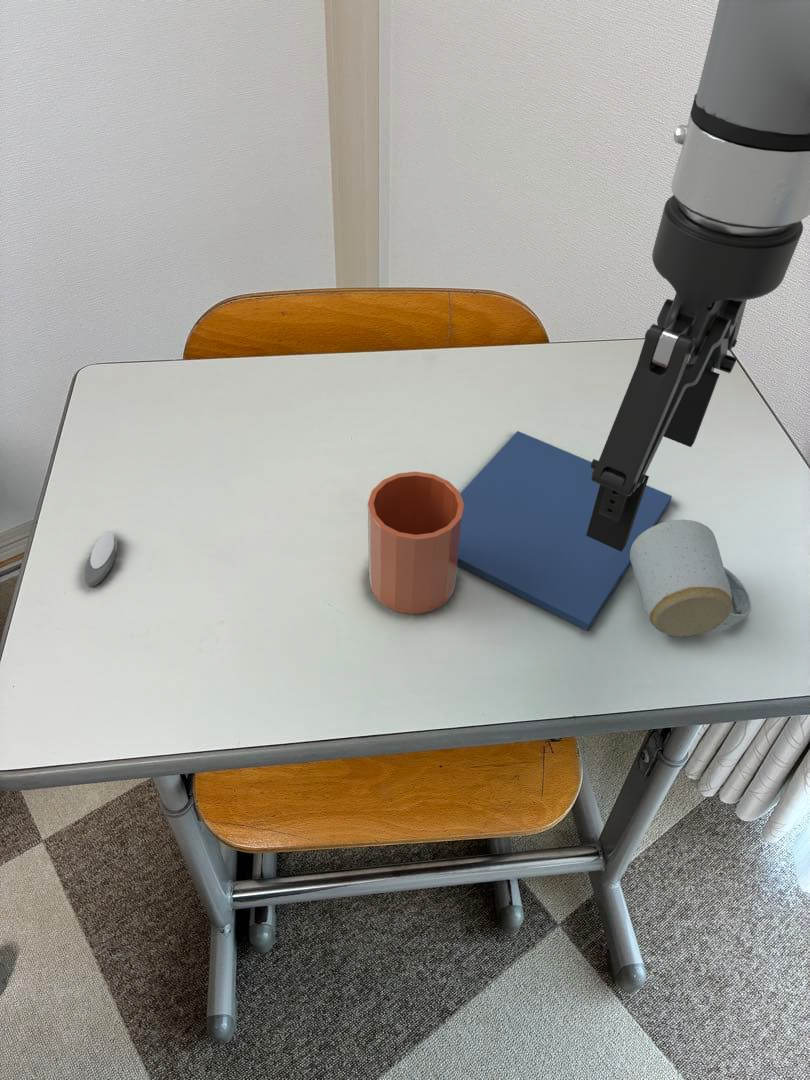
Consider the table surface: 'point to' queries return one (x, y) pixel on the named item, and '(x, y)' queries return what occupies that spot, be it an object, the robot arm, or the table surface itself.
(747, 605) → the ceramic mug
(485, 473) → the blue mat
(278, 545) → the table surface
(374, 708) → the table surface
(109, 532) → the oval pebble
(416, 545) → the clay cup
